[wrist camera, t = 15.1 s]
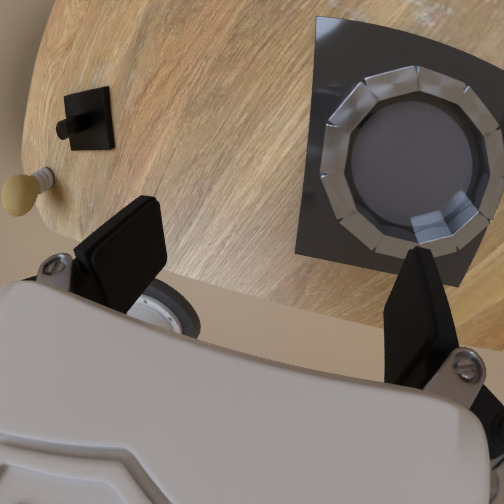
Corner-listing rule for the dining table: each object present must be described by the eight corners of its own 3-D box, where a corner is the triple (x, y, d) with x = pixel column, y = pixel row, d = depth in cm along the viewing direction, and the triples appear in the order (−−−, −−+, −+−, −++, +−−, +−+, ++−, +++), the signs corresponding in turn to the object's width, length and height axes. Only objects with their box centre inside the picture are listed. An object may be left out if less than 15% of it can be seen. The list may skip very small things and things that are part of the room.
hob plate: (456, 282, 28) (458, 288, 27) (296, 248, 32) (294, 254, 31) (519, 80, 13) (524, 81, 12) (317, 17, 18) (315, 15, 17)
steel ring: (335, 49, 18) (334, 45, 16) (510, 108, 15) (524, 113, 13) (312, 224, 29) (308, 237, 27) (460, 259, 25) (466, 274, 23)
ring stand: (114, 147, 31) (87, 161, 27) (76, 148, 33) (50, 161, 29) (108, 85, 26) (77, 93, 23) (68, 94, 28) (40, 103, 24)
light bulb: (35, 172, 38) (-7, 199, 31) (45, 151, 35) (-3, 178, 27) (53, 199, 41) (11, 229, 33) (64, 180, 37) (17, 212, 29)
